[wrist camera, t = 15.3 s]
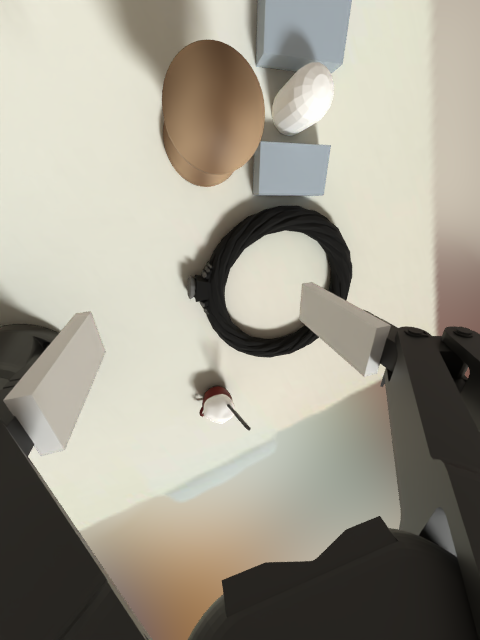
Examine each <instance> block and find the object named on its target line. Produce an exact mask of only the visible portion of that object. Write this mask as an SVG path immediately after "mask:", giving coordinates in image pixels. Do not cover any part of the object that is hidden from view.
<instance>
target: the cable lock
mask: <svg viewBox="0 0 480 640" xmlns="http://www.w3.org/2000/svg"><path fill="white" fill-rule="evenodd" d="M284 230H287V231H295V232H302V233H304V234H306V235H308V236H309V237H311V238H313V239H315V240H316V241H318V243H319V244H320V245H321V247H322V248H323V249H324V251H325V252H326V253H327V256H328V260H329V263H330V267H331V283H330V288H329V292H331V293H333V294H335V295H336V296H338V297H340V298H342V299H344V300H347V296H348V291H349V287H350V283H351V279H352V263H351V258H350V251H349V249H348V247H347V245H346V243H345V241H344V239H343V237H342V235H341V233H340V231H339V229H338V228H337V227H336V226H335V225H333V224H332V223H331V222H330V221H329V220H328V218H326V217H325V216H323V215H321V214H320V213H318V212H316V211H313V210H308V209H305V208H302V207H299V206H279V207H274V208H270V209H266V210H263V211H261V212H259V213H257V214H254V215H251V216H248V217H247V218H246V219H244V220H243V221H242V222H240V223H239V224H238V225H237V226H235V227H234V228H233V229H232V230H231V231H230V232H229V233H228V234H227V235H226V236H225V237H224V238H223V239H222V240H221V241H220V243H219V244H218V246H217V247H216V249H215V250H214V252H213V254H212V257H211V259H210V262H207V265H206V266H205V269H203V270H202V273H201V276H199V275H195V279H194V278H192V277H191V276H190V277H189V278H188V296H189V298H190V299H192V298H193V297H195V299H196V302H198V301H200V304H201V305H202V307H203V309H204V312H205V313H206V314H207V317H208V319H209V321H210V323H211V325H212V327H213V329H214V330H215V331H216V332H217V334H218V335H219V337H220V338H221V339H223V340H224V341H225V342H226V343H227V344H228V345H229V346H231V347H232V348H234V349H236V350H237V351H240V352H243V353H246V354H249V355H253V356H257V357H274V356H280V355H285V354H290V353H293V352H295V351H297V350H299V349H301V348H303V347H305V346H307V345H309V344H311V343H312V342H313V341H315V340H316V339H317V338H319V337H318V336H317V335H316V334H315V333H314V332H313V331H312V330H311V329H309V328H308V327H307V326H306V325H305V326H304V327H302V328H301V329H300V330H298V331H297V332H295V333H293V334H290V335H287V336H284V337H281V338H276V339H261V338H255V337H251V336H249V335H247V334H246V333H244V332H243V331H241V330H240V329H239V328H238V327H237V326H236V325H235V324H233V322H232V321H231V318H230V316H229V313H228V311H227V308H226V303H225V296H224V295H225V285H226V282H227V278H228V274H229V271H230V268H231V267H232V266H233V264H234V263H235V261H236V260H237V259H238V257H239V256H240V254H241V253H242V252H243V250H244V249H245V248H247V247H248V246H250V245H251V244H252V243H254V242H255V241H257V240H258V239H260V238H261V237H263V236H264V235H267V234H271V233H276V232H280V231H284Z"/></svg>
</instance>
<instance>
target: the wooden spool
mask: <svg viewBox="0 0 480 640" xmlns="http://www.w3.org/2000/svg"><path fill="white" fill-rule="evenodd" d="M162 108H163V115H164V126H163V139H164V145H165V149H166V153H167V155H168V158H169V160H170V162H171V164H172V166H173V167H174V169H175V170H176V171H177V172H178V173H179V175H181V176H182V177H183V178H184V179H185V180H187V181H188V182H190V183H192V184H194V185H197V186H203V187H210V186H215V185H217V184H220V183H222V182H223V181H225V180H226V179H227V178H229V177H230V175H231V174H232V173H233V172H234V171H235V170H237V169H238V168H240V167H242V166H243V165H244V164H245V163H246V162H247V161H248V160H249V159H250V158H251V157H252V156H253V154H254V153H255V151H256V149H257V147H258V145H259V143H260V140H261V137H262V134H263V129H264V121H265V107H264V99H263V94H262V90H261V87H260V84H259V81H258V79H257V77H256V75H255V73H254V71H253V69H252V67H251V66H250V65H249V63H248V62H247V60H246V59H245V58H244V57H243V56H242V55H241V54H240V53H239V52H238V51H236V50H235V49H234V48H232V47H231V46H229V45H227V44H225V43H222V42H220V41H215V40H200V41H196V42H194V43H191V44H189V45H188V46H186V47H185V48H183V49H182V50H181V51H180V52H179V53H178V54H177V55H176V56H175V58H174V59H173V61H172V62H171V64H170V66H169V68H168V70H167V73H166V76H165V80H164V84H163V90H162Z"/></svg>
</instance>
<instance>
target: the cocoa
mask: <svg viewBox="0 0 480 640" xmlns="http://www.w3.org/2000/svg"><path fill="white" fill-rule="evenodd" d="M203 411H204V413H203V414H202V412H203ZM234 415H235V416H236V417H237V418H238V420H239V421H240V422H241V423H242V424H243V425H244V427H245V428H246V429H248V430H250V427H249V426H248V425H247V424H246V422H245V421H244V420H243V419H242V418H241V417H240V416H239V415H238V413H237V412H236V411H235V407H234V403H233V401H232V397H231V395H230V393H229V392H228V391H227V390H226V389H225V388H223V387H220V386H216V387H212V388H210V389H209V390H208V391H207V392H206V393H205V394H204V398H203V403H202V408H201V410H200V416H202V417H203V416H204V417H206V418H208V419H209V420H211V421H213V422H216V423H220V424H222V423H225V422H226V421H227V420H229V419H231V418H232V417H233V416H234Z"/></svg>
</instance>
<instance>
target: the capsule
mask: <svg viewBox="0 0 480 640" xmlns="http://www.w3.org/2000/svg"><path fill="white" fill-rule="evenodd" d="M333 95H334V82H333V77H332V75H331V73H330V71H329V70H328V68H327V67H326V66H325V65H323V64H321V63H320V62H311V63H309V64H307V65H305V66H304V67H302V68H300V69H299V70H298V71H297V72H296V73H295V74H294V75H293V76H292V77H291V78H290V79H289V81H288V82H287V83H286V84H285V85H284V86H283V87H282V88H281V89H280V90H279V92H278V93H277V95H276V97H275V98H274V102H273V106H272V118H273V121H274V124H275V127H276V128H277V129H278V131H279V132H280V133H282V134H284V135H286V136H293V135H295V134H297V133H299V132H301V131H302V130H304V129H306V128H308V127H309V126H311V125H313V124H315V123H316V122H318V121H319V120H321V118H322V117H323V116H324V115H325V113H326V112H327V111H328V109H329V108H330V106H331V103H332V100H333Z"/></svg>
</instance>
